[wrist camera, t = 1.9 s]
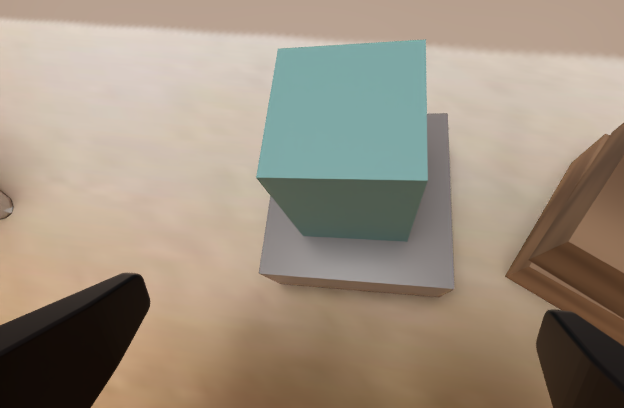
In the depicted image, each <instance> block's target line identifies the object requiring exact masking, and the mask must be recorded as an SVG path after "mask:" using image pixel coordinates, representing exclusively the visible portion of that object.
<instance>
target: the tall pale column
mask: <svg viewBox="0 0 624 408" xmlns="http://www.w3.org/2000/svg"><path fill="white" fill-rule="evenodd" d="M12 209H13V204H12V201H11V199H10V198H9V197H8V196H7V195H5V194H4V193H3V192H2V191H0V219H3V218H6V217H7V216H9V215H10V214H11V213H12Z"/></svg>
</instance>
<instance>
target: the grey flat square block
mask: <svg viewBox="0 0 624 408" xmlns="http://www.w3.org/2000/svg"><path fill="white" fill-rule="evenodd" d="M427 165H428V181H427V184H426V187H425V190H424V193H423V196H422V199H421V202H420V205H419V208H418V211H417V214H416V217H415V220H414V223H413V226H412V229H411V232H410V235H409V238H408V241H407V242H405V241H386V240H367V239H349V238H330V237H311V236H303V235H302V234H301V233H300V232H299V230H298V229H297V228H296V227H295V225H294V224H293V223H292V222H291V220H290V219H289V218H288V217H287V215H286V214H285V213H284V212H283V210H282V209H281V208H280V207H279V205H278V204H277V203H276V202H275V200H274V199H273V198H272V197H271V196H270V202H269V209H268V215H267V222H266V229H265V235H264V242H263V249H262V255H261V262H260V268H259V274H261V275H263V276H265V277H267V278H269V279H271V280H273V281H276V282H278V283H280V284H289V285H301V286H313V287H325V288H337V289H348V290H360V291H372V292H384V293H396V294H408V295H420V296H432V297H440V296H442V295H444V294H446V293H448V292H450V291H452V290H453V289H454V266H453V240H452V214H451V189H450V163H449V137H448V113H440V114H427Z"/></svg>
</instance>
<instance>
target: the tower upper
mask: <svg viewBox="0 0 624 408" xmlns="http://www.w3.org/2000/svg"><path fill="white" fill-rule="evenodd" d="M528 260H529V261H531V262H532V263H534V264H536V265H537V266H539V267H540V268H542V269H544V270H545V271H547V272H549V273H550V274H552V275H553V276H555V277H557V278H558V279H560V280H562V281H563V282H565V283H566V284H568V285H570V286H571V287H573V288H575V289H576V290H578V291H579V292H581V293H583V294H584V295H586V296H587V297H589V298H591V299H592V300H594V301H596V302H597V303H599V304H600V305H602V306H604V307H605V308H607V309H609V310H610V311H612V312H613V313H615V314H617V315H618V316H620V317H622V318H623V319H624V123H623V124H621V125H620V126H619V127H618V128H617V129H616V130H614V131H613V132H612V133H611V135H610V136H609V138H608V139H607V141H606V142H605V144H604V146H603V147H602V149H601V150H600V152H599V153H598V155H597V156H596V158H595V159H594V161H593V162H592V164H591V165H590V167H589V168H588V170H587V171H586V173H585V174H584V176H583V177H582V179H581V180H580V182H579V183H578V185H577V186H576V188H575V189H574V191H573V193H572V194H571V196H570V197H569V199H568V200H567V202H566V203H565V205H564V206H563V208H562V209H561V211H560V212H559V214H558V215H557V217H556V218H555V220H554V221H553V223H552V224H551V226H550V227H549V229H548V230H547V232H546V233H545V235H544V237H543V238H542V240H541V241H540V243H539V244H538V246H537V247H536V249H535V250H534V252H533V253H532V255H531V256H530V258H529V259H528Z"/></svg>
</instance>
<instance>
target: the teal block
mask: <svg viewBox="0 0 624 408" xmlns="http://www.w3.org/2000/svg"><path fill="white" fill-rule="evenodd" d="M256 178H257V179H258V180H259V182H260V183H261V184H262V185H263V187H264V188H265V189H266V190H267V192H268V193H269V194H270V195H271V197H272V198H273V199H274V200H275V202H276V203H277V204H278V205H279V207H280V208H281V209H282V210H283V212H284V213H285V214H286V215H287V217H288V218H289V219H290V220H291V222H292V223H293V224H294V225H295V227H296V228H297V229H298V230H299V232H300V233H301V234H302V235H303V236H311V237H330V238H349V239H367V240H386V241H405V242H407V241H408V238H409V235H410V232H411V229H412V226H413V223H414V220H415V217H416V214H417V211H418V208H419V205H420V202H421V199H422V196H423V193H424V190H425V187H426V184H427V181H428V165H427V97H426V40H410V41H394V42H378V43H363V44H347V45H331V46H315V47H299V48H283V49H278V52H277V58H276V64H275V70H274V76H273V81H272V87H271V93H270V99H269V105H268V111H267V117H266V123H265V129H264V135H263V141H262V147H261V152H260V158H259V164H258V170H257V176H256Z"/></svg>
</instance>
